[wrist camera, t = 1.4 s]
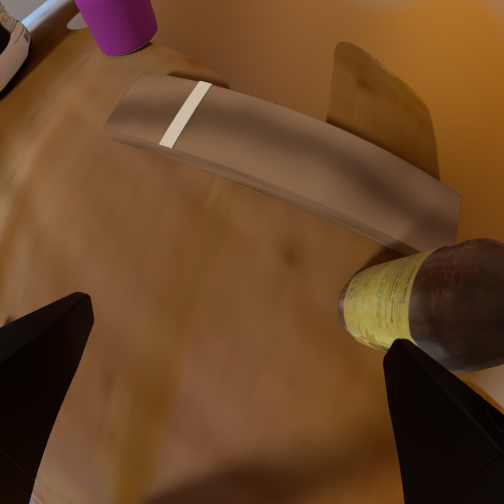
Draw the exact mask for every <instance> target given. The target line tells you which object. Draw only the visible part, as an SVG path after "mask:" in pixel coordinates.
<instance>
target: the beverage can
mask: <svg viewBox="0 0 504 504" xmlns="http://www.w3.org/2000/svg"><path fill="white" fill-rule="evenodd" d="M75 3H76V5H77V7H78V9H79V10H80V12H81V14H82V16H83V18H84V20H85V22H86V23H87V25H88V27H89V29H90V31H91V33H92V35H93V36H94V38H95V40H96V42H97V44H98V45H99V47H100V49H101V51H102V52H103V53H104V54H106V55H110V56H121V55H127V54H129V53H132V52H135V51H136V50H138V49H140V48H142V47H143V46H144V45H146V44H147V43H148V42H149V41H150V40H151V39H152V37H153V36H154V35H155V33H156V31H157V22H156V18H155V15H154V12H153V8H152V5H151V2H150V0H75Z"/></svg>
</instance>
